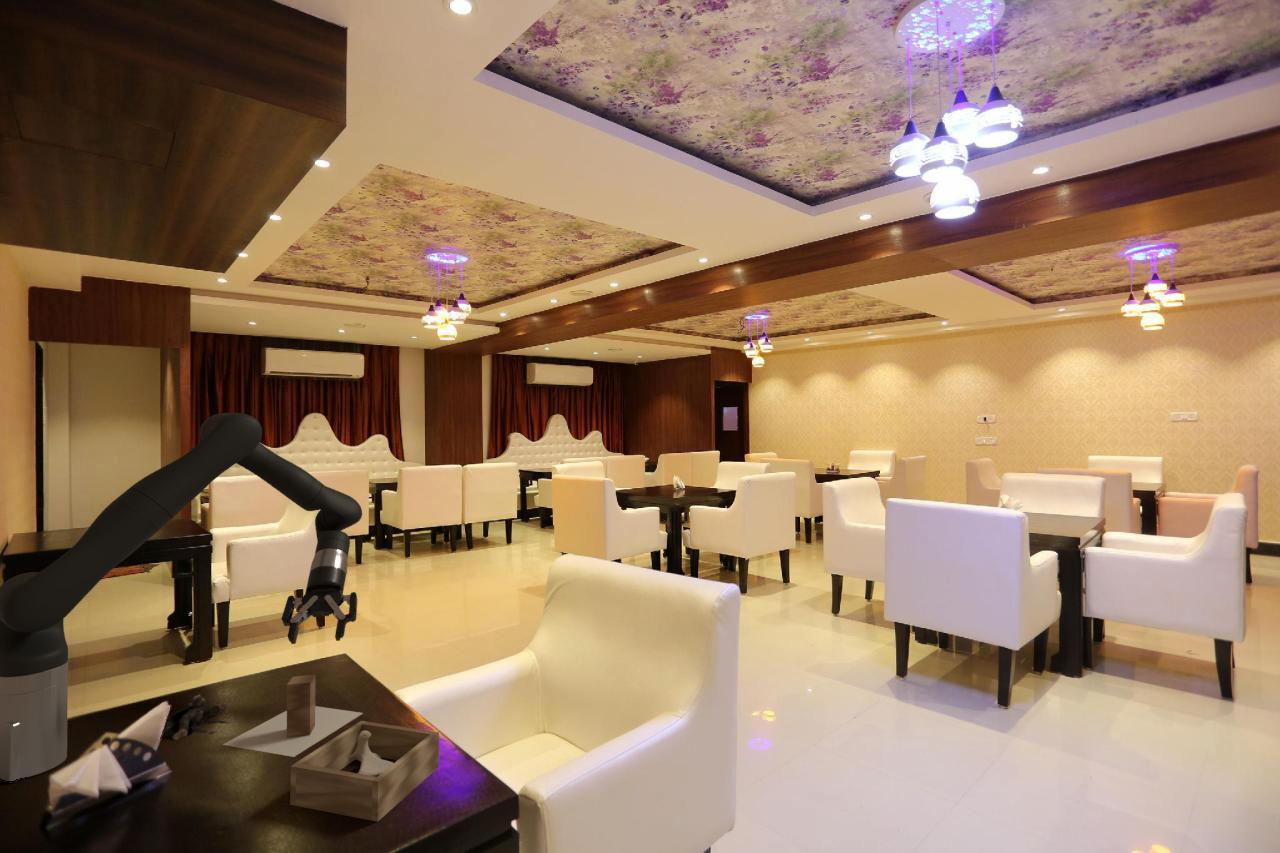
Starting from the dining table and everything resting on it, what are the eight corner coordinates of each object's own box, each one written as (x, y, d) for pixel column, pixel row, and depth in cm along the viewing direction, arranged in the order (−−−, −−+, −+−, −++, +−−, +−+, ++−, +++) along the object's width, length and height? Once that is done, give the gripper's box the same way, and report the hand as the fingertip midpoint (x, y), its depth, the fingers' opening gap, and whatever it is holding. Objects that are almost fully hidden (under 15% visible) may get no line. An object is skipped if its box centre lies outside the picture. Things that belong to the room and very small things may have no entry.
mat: (293, 760, 111) (293, 756, 111) (222, 747, 116) (222, 744, 116) (363, 715, 129) (363, 713, 129) (299, 706, 133) (299, 703, 133)
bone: (360, 772, 98) (368, 720, 107) (335, 799, 99) (344, 745, 108) (416, 792, 103) (419, 740, 112) (391, 817, 104) (396, 764, 113)
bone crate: (377, 821, 94) (378, 781, 94) (290, 804, 98) (290, 766, 98) (438, 766, 109) (439, 732, 109) (360, 754, 114) (361, 720, 114)
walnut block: (286, 737, 118) (287, 684, 118) (292, 728, 122) (292, 676, 122) (309, 735, 119) (310, 682, 119) (315, 725, 123) (315, 674, 123)
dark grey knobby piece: (195, 740, 117) (158, 696, 120) (174, 778, 118) (139, 733, 122) (253, 713, 128) (218, 673, 131) (233, 748, 130) (199, 707, 133)
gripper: (290, 566, 138) (273, 634, 127) (360, 562, 142) (350, 629, 131) (296, 584, 143) (281, 652, 132) (363, 581, 147) (354, 646, 136)
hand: (315, 640), depth 131 cm, fingers open, 8 cm apart
